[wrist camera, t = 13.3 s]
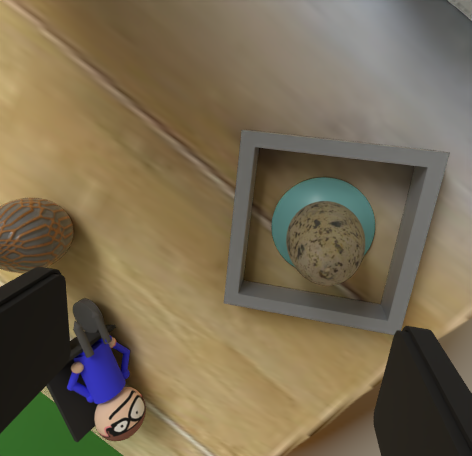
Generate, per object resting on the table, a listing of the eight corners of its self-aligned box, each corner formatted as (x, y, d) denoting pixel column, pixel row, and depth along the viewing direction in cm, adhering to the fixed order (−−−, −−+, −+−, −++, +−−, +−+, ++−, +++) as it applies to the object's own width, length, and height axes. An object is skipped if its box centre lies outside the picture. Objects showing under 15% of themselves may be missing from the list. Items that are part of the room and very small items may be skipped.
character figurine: (115, 286, 38) (162, 400, 41) (57, 300, 39) (107, 410, 42) (75, 323, 30) (136, 460, 33) (5, 340, 31) (71, 470, 35)
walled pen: (247, 130, 30) (241, 129, 28) (434, 150, 28) (449, 152, 25) (230, 289, 35) (223, 303, 32) (391, 318, 33) (399, 336, 30)
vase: (97, 229, 36) (35, 259, 28) (59, 268, 38) (-9, 306, 30) (50, 178, 35) (-29, 193, 27) (14, 220, 37) (-69, 246, 29)
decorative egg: (369, 238, 31) (398, 285, 21) (310, 269, 32) (312, 326, 23) (334, 180, 30) (348, 203, 20) (276, 216, 32) (263, 252, 22)
